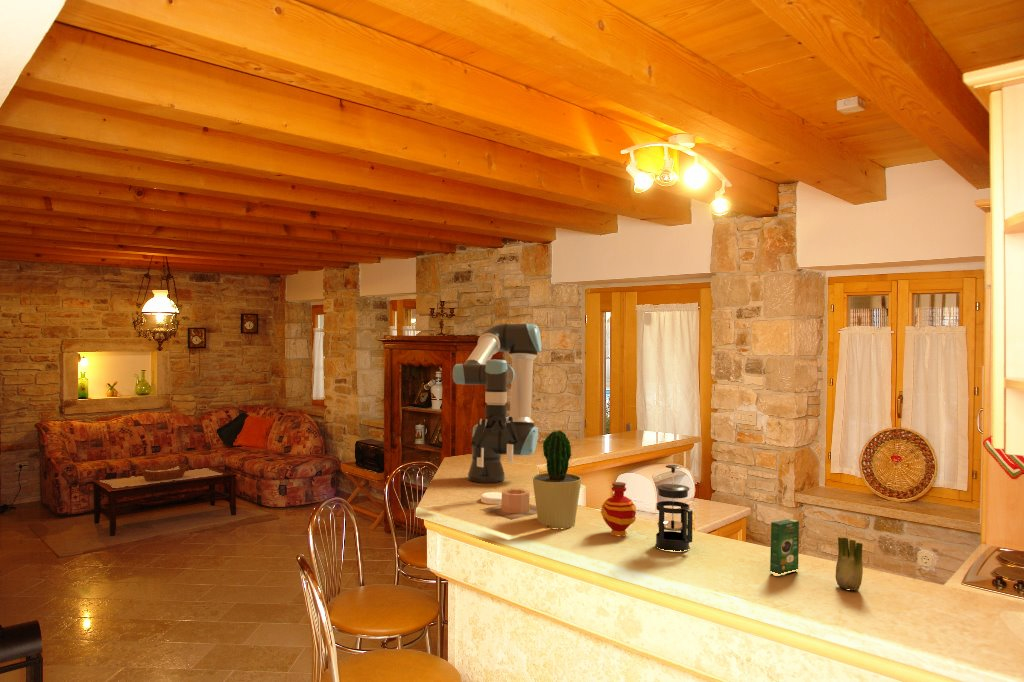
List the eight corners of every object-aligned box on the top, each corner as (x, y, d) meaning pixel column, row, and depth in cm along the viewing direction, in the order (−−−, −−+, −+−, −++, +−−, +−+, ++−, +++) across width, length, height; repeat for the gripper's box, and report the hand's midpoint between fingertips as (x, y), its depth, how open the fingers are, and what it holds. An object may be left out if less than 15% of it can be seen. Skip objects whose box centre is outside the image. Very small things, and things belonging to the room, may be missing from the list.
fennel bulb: (865, 593, 157) (866, 541, 157) (845, 594, 156) (845, 542, 156) (851, 584, 162) (851, 534, 162) (831, 585, 162) (831, 534, 162)
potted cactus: (565, 515, 223) (566, 424, 223) (590, 527, 209) (591, 430, 209) (523, 521, 216) (524, 426, 216) (546, 533, 202) (547, 433, 202)
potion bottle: (614, 526, 210) (615, 478, 210) (642, 533, 203) (643, 483, 203) (593, 533, 203) (594, 483, 203) (621, 541, 196) (622, 489, 196)
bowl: (516, 505, 232) (516, 487, 232) (534, 510, 225) (535, 492, 225) (496, 509, 226) (496, 491, 226) (514, 514, 219) (514, 496, 219)
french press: (646, 545, 192) (647, 464, 192) (669, 540, 197) (670, 460, 197) (678, 556, 182) (679, 470, 182) (701, 550, 187) (702, 467, 187)
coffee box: (789, 568, 173) (790, 517, 173) (799, 572, 171) (800, 519, 171) (769, 574, 169) (769, 521, 169) (779, 577, 167) (779, 524, 166)
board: (519, 504, 237) (519, 501, 237) (551, 513, 225) (551, 510, 225) (479, 513, 225) (479, 509, 225) (511, 523, 213) (511, 519, 213)
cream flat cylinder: (506, 501, 244) (507, 491, 244) (511, 507, 234) (511, 497, 234) (479, 501, 242) (479, 492, 242) (482, 508, 232) (482, 498, 232)
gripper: (515, 401, 249) (514, 459, 249) (461, 404, 232) (460, 467, 232) (529, 402, 243) (528, 462, 243) (474, 406, 227) (474, 470, 226)
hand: (495, 464), depth 238 cm, fingers open, 13 cm apart
